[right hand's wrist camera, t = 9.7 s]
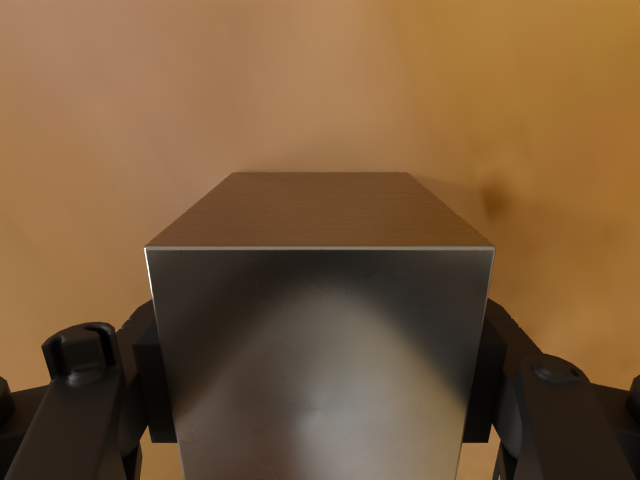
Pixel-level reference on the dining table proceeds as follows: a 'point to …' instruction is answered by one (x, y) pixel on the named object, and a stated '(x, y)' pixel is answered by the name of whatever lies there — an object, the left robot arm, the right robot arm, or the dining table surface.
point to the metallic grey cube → (319, 327)
